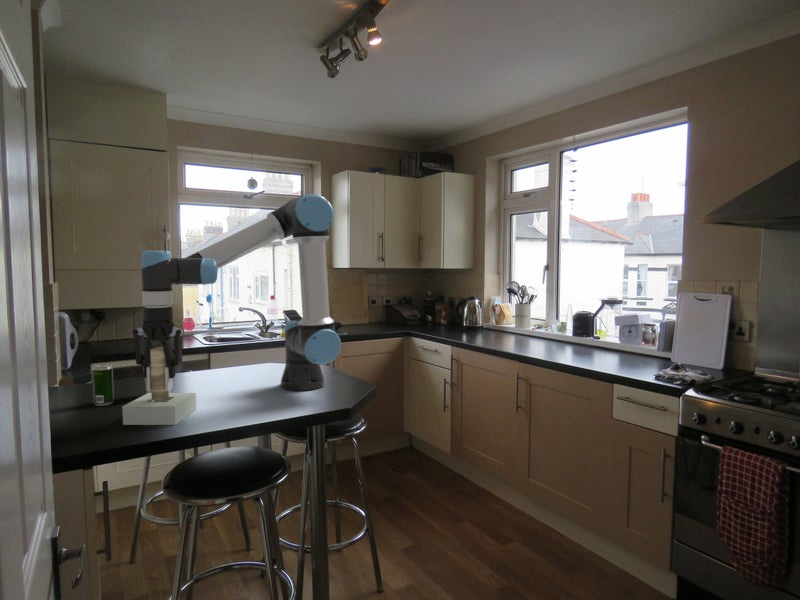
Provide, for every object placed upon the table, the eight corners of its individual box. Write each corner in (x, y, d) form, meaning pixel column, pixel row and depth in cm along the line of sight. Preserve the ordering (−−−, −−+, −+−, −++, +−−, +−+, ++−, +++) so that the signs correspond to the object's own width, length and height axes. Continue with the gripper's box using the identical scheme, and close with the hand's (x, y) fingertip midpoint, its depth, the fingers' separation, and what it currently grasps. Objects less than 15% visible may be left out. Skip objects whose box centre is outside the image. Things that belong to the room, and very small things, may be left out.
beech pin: (164, 400, 140) (163, 349, 139) (148, 400, 140) (147, 349, 139) (171, 395, 144) (170, 347, 143) (156, 395, 144) (154, 347, 143)
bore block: (196, 409, 149) (195, 392, 149) (175, 424, 135) (174, 406, 135) (148, 409, 149) (148, 392, 149) (123, 424, 135) (122, 406, 135)
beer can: (111, 405, 153) (109, 366, 153) (91, 406, 152) (89, 367, 151) (116, 400, 159) (114, 363, 158) (97, 402, 157) (95, 363, 156)
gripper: (194, 305, 144) (196, 386, 145) (133, 305, 144) (135, 386, 145) (183, 307, 136) (185, 393, 138) (118, 307, 136) (121, 392, 138)
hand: (160, 389), depth 142 cm, fingers closed on beech pin, 4 cm apart
